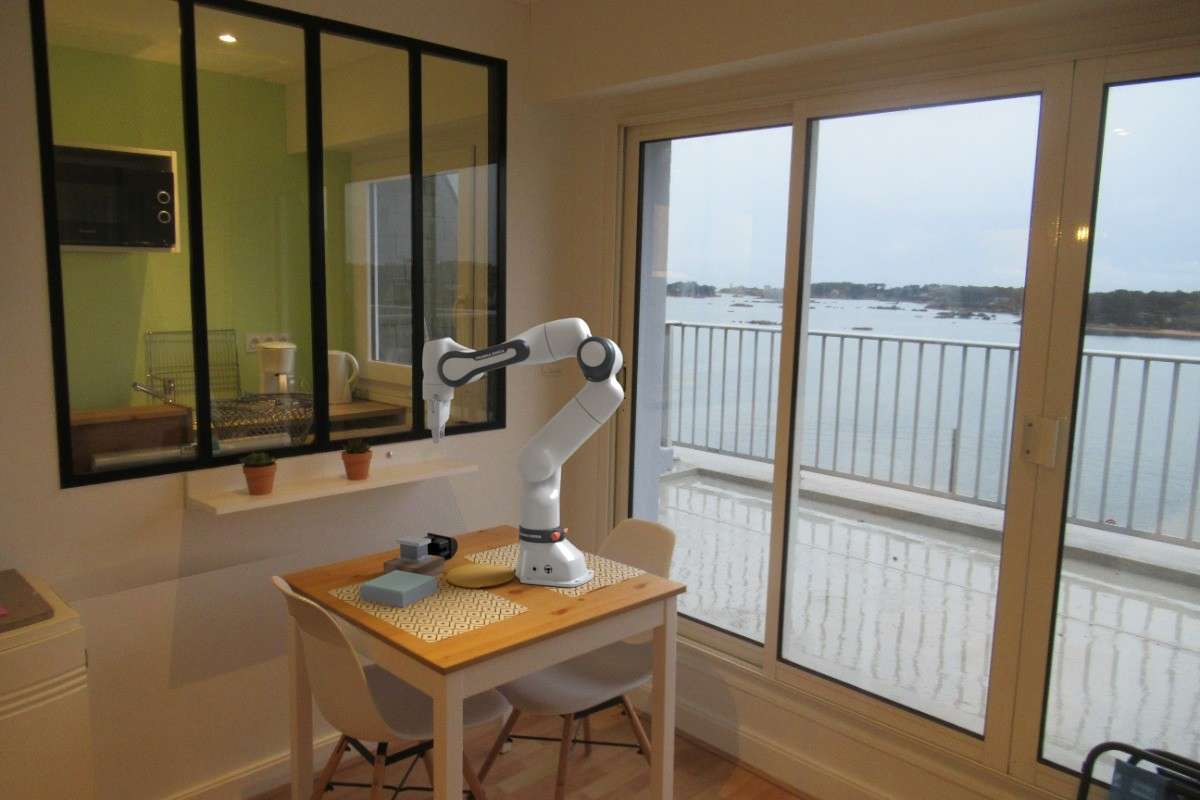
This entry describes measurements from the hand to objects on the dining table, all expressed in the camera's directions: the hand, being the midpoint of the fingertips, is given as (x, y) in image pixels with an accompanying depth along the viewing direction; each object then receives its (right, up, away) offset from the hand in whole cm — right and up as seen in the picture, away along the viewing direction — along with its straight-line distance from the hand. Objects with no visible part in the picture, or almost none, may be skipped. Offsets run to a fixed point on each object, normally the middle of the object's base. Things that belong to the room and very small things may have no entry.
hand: (438, 440), depth 247 cm
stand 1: (-6, -38, -6) cm, 39 cm away
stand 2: (-6, -40, -24) cm, 47 cm away
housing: (-6, -34, -7) cm, 35 cm away
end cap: (-2, -36, +10) cm, 37 cm away
